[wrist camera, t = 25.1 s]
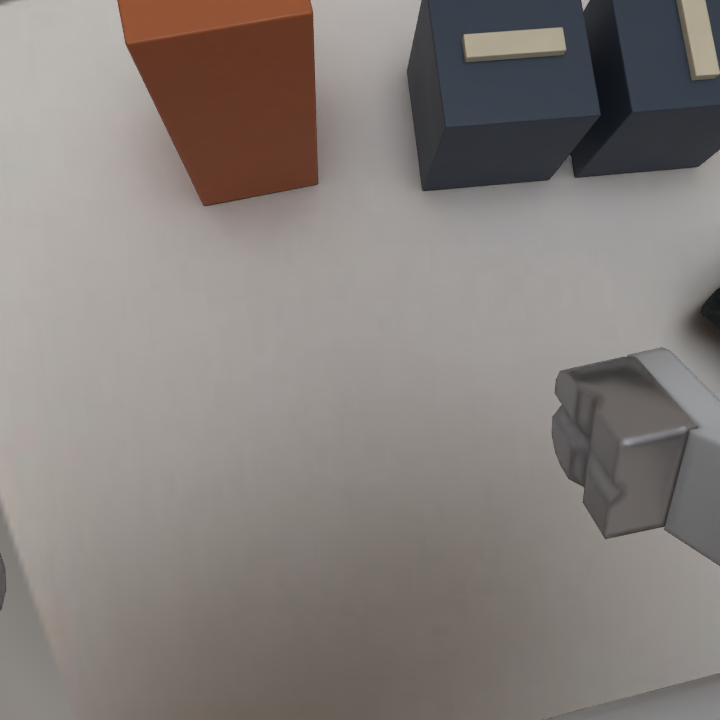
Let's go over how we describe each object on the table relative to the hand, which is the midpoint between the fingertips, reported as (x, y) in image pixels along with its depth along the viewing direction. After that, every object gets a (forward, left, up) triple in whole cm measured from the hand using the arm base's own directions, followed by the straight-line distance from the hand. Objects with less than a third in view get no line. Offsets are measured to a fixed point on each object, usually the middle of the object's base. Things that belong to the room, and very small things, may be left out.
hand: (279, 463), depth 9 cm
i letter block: (-1, +12, -15) cm, 19 cm away
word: (+11, +12, -15) cm, 22 cm away
